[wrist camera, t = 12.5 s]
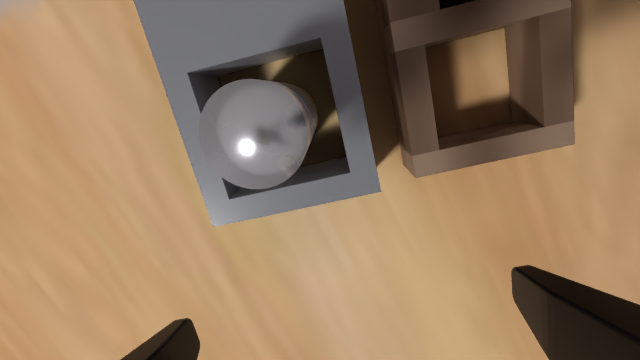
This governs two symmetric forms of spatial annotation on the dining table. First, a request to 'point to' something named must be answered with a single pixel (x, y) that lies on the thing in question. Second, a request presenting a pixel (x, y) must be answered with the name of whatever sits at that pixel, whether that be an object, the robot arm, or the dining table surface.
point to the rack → (248, 51)
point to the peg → (257, 131)
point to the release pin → (452, 2)
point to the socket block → (523, 69)
